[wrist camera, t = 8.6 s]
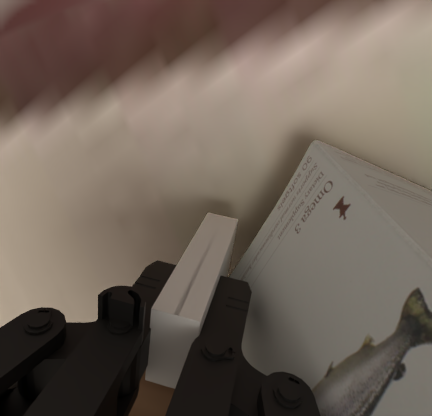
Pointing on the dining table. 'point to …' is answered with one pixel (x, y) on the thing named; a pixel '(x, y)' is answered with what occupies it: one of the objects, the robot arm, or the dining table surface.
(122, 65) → the dining table surface
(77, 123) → the dining table surface
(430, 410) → the supplement box
